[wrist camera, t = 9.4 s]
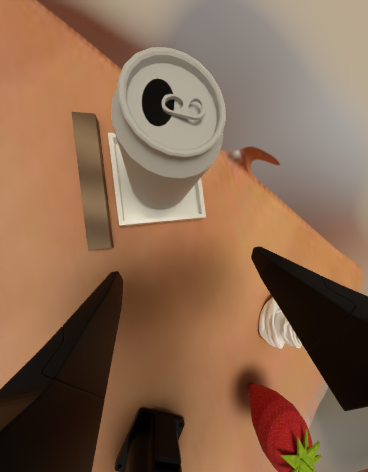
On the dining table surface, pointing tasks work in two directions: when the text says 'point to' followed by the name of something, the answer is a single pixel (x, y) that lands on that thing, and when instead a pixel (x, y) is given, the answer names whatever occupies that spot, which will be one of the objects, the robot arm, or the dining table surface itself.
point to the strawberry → (281, 431)
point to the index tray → (138, 212)
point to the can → (166, 124)
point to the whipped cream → (276, 327)
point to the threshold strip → (92, 181)
